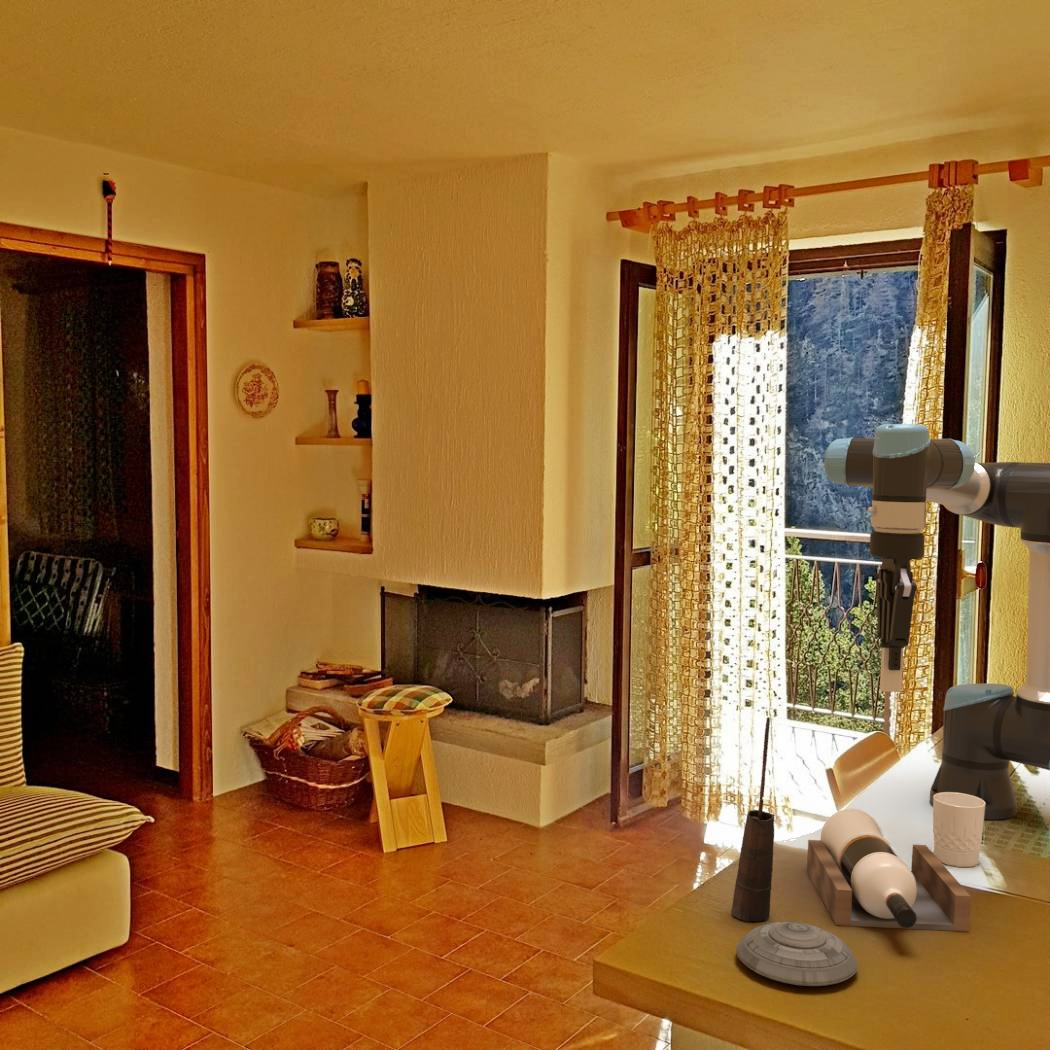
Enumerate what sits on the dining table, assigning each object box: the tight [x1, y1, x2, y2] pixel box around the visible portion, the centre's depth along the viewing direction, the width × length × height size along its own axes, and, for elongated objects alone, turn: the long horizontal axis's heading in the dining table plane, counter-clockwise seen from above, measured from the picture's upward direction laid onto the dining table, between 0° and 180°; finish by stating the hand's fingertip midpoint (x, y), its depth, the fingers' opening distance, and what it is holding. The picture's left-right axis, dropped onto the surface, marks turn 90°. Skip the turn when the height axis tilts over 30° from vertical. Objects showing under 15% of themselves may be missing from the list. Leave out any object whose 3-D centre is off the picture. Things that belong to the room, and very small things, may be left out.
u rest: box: [806, 839, 971, 933], centre depth 163 cm, size 20×18×5 cm
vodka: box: [820, 808, 917, 929], centre depth 160 cm, size 9×9×30 cm
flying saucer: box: [735, 920, 859, 987], centre depth 141 cm, size 15×15×6 cm
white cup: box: [932, 792, 986, 868], centre depth 180 cm, size 8×8×10 cm
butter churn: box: [731, 716, 775, 923], centre depth 155 cm, size 9×10×28 cm
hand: (890, 690), depth 164 cm, fingers closed
